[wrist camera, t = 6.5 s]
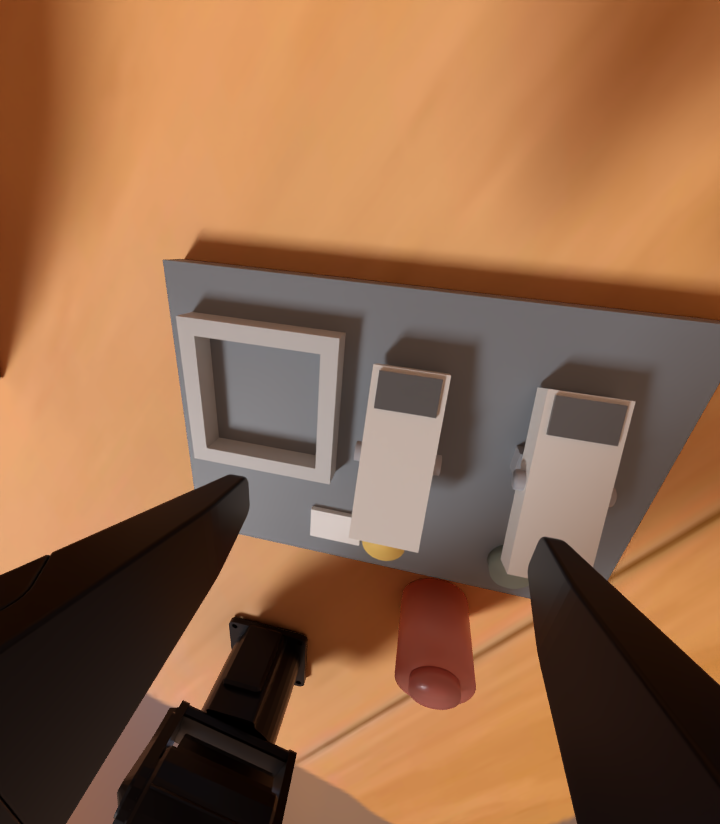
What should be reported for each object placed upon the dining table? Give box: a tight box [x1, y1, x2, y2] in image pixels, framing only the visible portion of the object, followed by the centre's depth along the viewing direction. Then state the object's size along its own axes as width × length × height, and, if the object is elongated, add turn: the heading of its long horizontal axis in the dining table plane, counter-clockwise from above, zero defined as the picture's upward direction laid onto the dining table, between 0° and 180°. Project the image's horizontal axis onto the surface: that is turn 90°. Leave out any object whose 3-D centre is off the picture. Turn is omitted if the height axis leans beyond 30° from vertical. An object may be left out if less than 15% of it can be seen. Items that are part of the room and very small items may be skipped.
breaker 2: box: [501, 387, 635, 578], centre depth 15 cm, size 8×4×1 cm, turn 175°
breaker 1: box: [349, 363, 451, 553], centre depth 16 cm, size 8×4×1 cm, turn 175°
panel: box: [163, 259, 720, 599], centre depth 18 cm, size 16×24×3 cm, turn 85°
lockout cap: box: [395, 578, 476, 710], centre depth 21 cm, size 4×4×6 cm
